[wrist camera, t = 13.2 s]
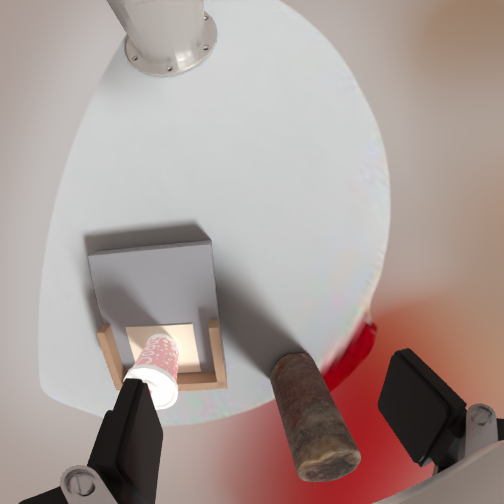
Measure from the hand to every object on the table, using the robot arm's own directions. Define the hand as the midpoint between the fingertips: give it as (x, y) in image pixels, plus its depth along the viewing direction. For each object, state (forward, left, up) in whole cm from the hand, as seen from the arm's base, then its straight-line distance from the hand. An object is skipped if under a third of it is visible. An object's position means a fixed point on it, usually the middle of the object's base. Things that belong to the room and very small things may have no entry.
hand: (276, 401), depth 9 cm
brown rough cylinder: (+20, +7, -28) cm, 35 cm away
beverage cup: (+12, -11, -25) cm, 30 cm away
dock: (+8, -11, -28) cm, 31 cm away
